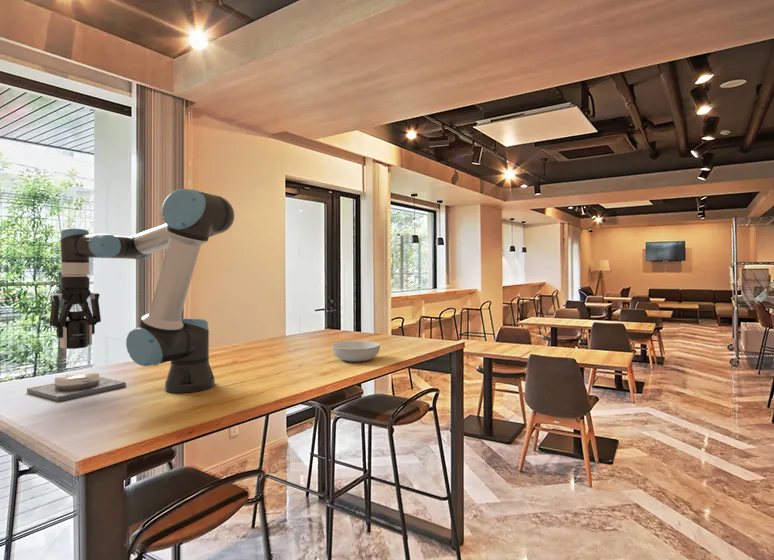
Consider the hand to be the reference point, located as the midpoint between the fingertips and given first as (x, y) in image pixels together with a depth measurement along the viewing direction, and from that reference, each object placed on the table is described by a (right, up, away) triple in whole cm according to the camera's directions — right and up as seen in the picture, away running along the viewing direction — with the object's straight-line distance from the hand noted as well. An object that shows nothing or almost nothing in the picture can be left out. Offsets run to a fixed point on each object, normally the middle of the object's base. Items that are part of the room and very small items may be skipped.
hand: (76, 345), depth 146 cm
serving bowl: (+89, -13, +48) cm, 101 cm away
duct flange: (0, -15, 0) cm, 15 cm away
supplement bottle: (0, -1, 0) cm, 1 cm away
